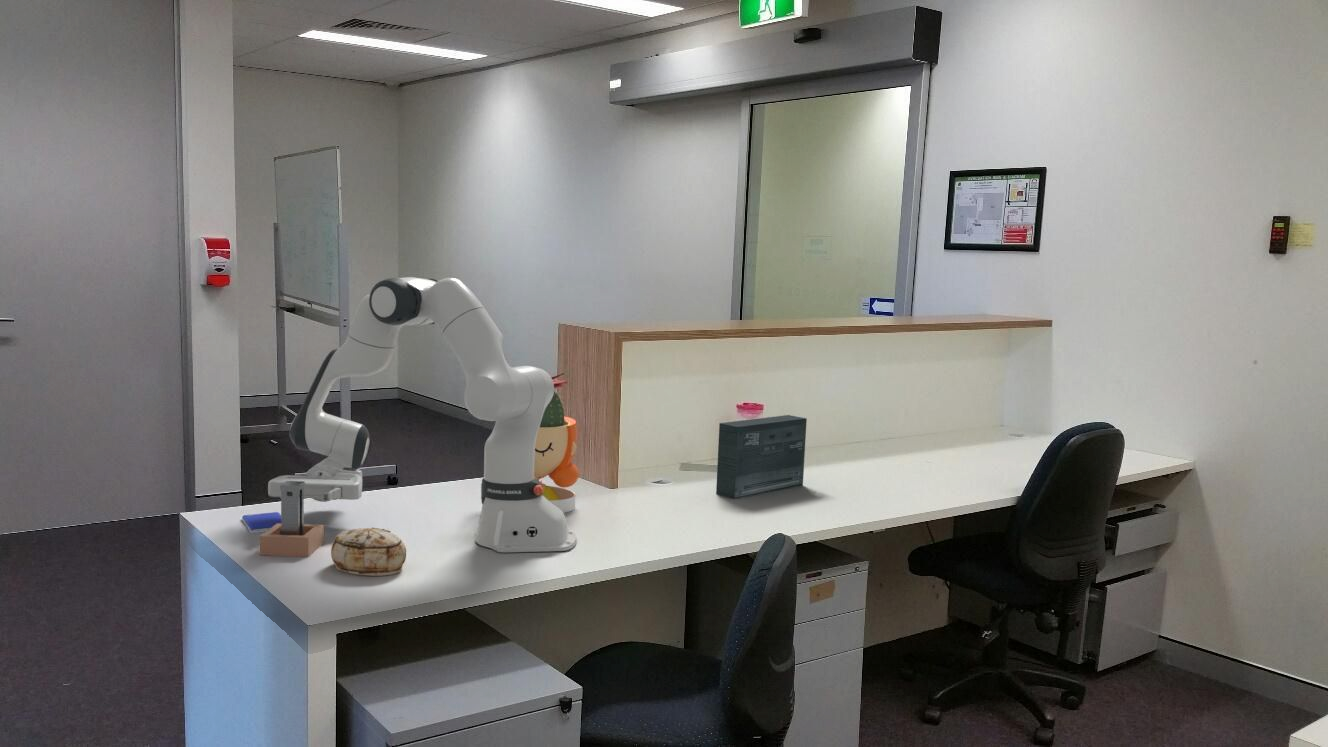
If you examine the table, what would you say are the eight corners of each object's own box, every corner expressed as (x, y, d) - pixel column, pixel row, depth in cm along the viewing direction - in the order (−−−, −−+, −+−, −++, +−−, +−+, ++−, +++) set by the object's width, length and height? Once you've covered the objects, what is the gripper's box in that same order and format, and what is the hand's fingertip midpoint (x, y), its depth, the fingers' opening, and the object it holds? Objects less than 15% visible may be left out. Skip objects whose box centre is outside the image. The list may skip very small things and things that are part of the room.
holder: (323, 542, 216) (323, 524, 216) (308, 556, 206) (308, 537, 206) (277, 541, 216) (277, 523, 215) (259, 555, 206) (259, 536, 206)
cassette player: (784, 481, 296) (788, 414, 294) (802, 485, 291) (806, 418, 289) (716, 494, 276) (719, 423, 274) (734, 499, 271) (738, 426, 269)
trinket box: (403, 578, 196) (403, 539, 195) (324, 579, 193) (324, 539, 192) (409, 557, 209) (410, 521, 208) (335, 558, 206) (335, 521, 205)
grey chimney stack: (304, 541, 213) (304, 481, 211) (298, 547, 209) (298, 485, 208) (286, 541, 213) (286, 480, 211) (280, 546, 209) (280, 484, 208)
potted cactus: (562, 517, 245) (566, 376, 241) (479, 508, 251) (482, 370, 246) (591, 498, 266) (595, 367, 262) (514, 490, 271) (517, 362, 267)
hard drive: (242, 515, 232) (251, 528, 221) (279, 511, 236) (289, 524, 226) (242, 521, 232) (251, 535, 221) (279, 518, 236) (289, 531, 226)
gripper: (279, 466, 231) (257, 480, 218) (368, 470, 232) (351, 483, 218) (279, 493, 232) (257, 508, 218) (368, 496, 233) (351, 511, 219)
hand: (305, 496), depth 218 cm, fingers open, 8 cm apart
